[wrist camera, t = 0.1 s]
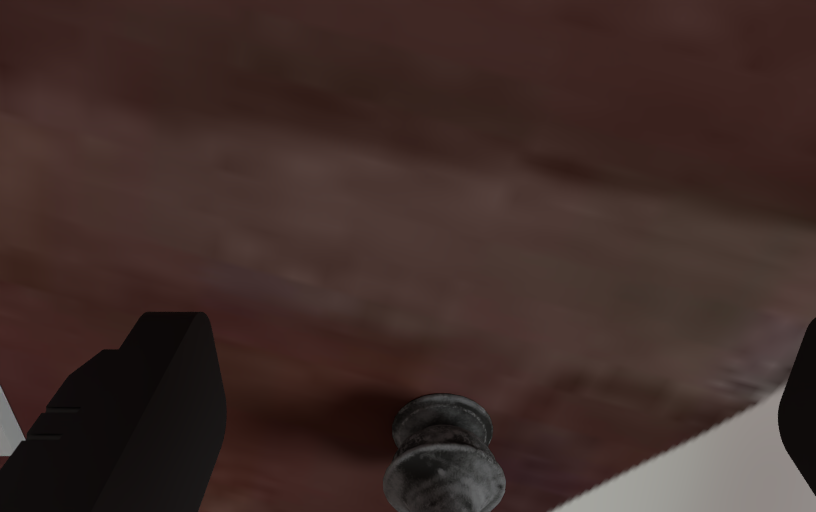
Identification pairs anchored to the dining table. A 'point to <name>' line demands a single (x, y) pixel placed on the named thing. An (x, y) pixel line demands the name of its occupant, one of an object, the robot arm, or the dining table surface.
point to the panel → (8, 428)
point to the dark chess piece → (443, 458)
